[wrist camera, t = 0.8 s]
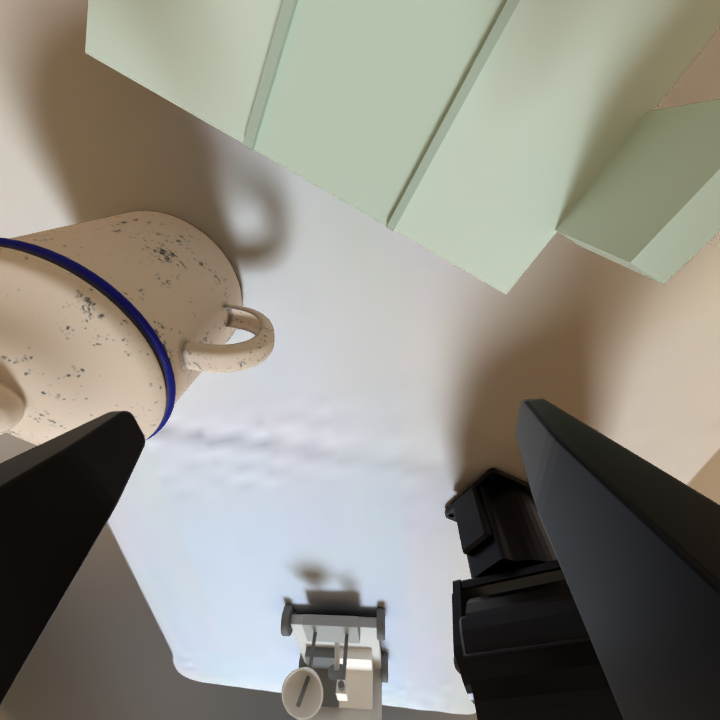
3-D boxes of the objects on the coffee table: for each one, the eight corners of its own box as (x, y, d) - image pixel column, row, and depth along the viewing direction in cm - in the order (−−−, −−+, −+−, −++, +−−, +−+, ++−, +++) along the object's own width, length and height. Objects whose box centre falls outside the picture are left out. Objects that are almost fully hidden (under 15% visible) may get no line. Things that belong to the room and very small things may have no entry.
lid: (741, 34, 10) (1028, -64, 6) (520, 300, 15) (580, 363, 10) (149, -503, 7) (-320, -1820, 2) (102, 58, 11) (-83, -6, 7)
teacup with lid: (116, 345, 23) (-96, 495, 13) (70, 194, 18) (-328, 243, 8) (296, 367, 23) (226, 534, 13) (297, 222, 18) (187, 306, 8)
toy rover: (252, 706, 30) (383, 715, 29) (281, 586, 39) (383, 590, 38) (288, 759, 39) (388, 767, 38) (305, 653, 48) (387, 657, 47)
